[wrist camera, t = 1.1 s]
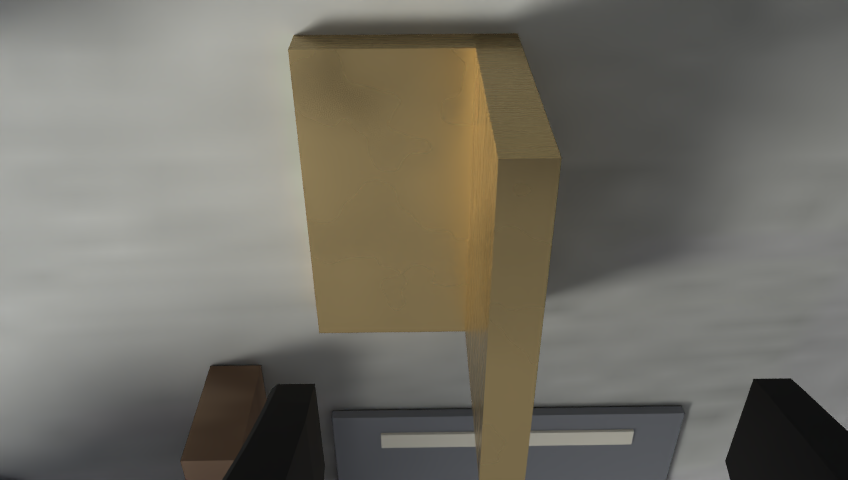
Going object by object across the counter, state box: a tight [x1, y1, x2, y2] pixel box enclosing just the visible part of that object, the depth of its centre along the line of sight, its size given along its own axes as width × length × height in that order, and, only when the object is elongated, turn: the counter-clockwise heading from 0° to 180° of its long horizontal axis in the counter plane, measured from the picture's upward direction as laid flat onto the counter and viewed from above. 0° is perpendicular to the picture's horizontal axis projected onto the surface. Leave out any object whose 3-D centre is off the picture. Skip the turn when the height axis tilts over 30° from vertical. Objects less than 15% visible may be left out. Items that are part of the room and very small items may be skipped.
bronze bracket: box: [288, 34, 562, 480], centre depth 16 cm, size 8×5×6 cm, turn 0°
